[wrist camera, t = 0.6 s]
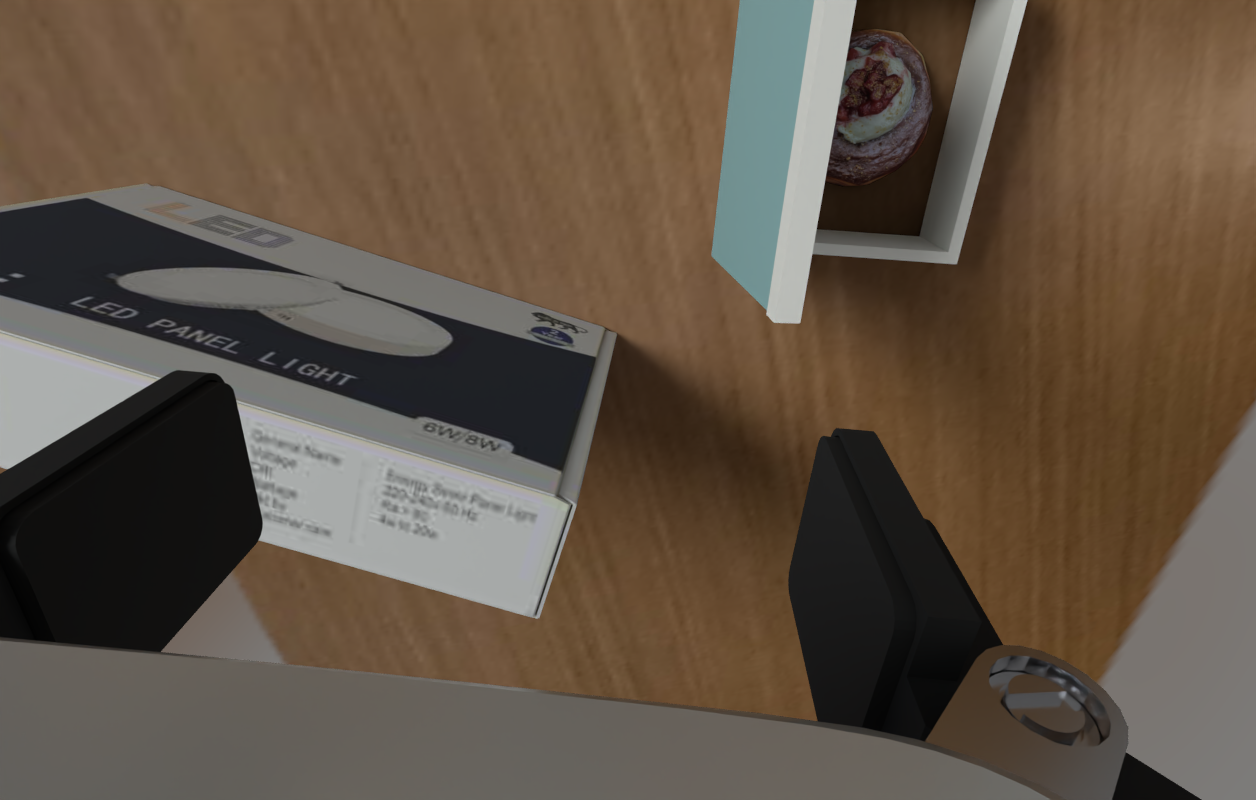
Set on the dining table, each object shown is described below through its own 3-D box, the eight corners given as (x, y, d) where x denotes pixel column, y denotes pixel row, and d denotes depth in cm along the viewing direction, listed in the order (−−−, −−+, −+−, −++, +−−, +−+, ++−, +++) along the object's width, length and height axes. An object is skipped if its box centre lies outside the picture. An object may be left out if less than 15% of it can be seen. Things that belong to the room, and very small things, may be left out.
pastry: (879, -3, 34) (911, -19, 30) (954, 116, 36) (995, 118, 32) (754, 107, 37) (766, 108, 32) (831, 212, 39) (852, 227, 34)
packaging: (618, 331, 43) (577, 502, 24) (591, 412, 45) (537, 623, 27) (145, 180, 40) (-286, 246, 22) (145, 275, 43) (-242, 403, 25)
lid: (766, -78, 29) (744, -80, 29) (886, -170, 19) (853, -174, 19) (726, 256, 35) (707, 255, 35) (800, 323, 25) (774, 323, 25)
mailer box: (757, -45, 34) (769, -66, 30) (995, -31, 33) (1040, -50, 29) (724, 232, 40) (730, 248, 35) (927, 247, 39) (956, 264, 35)
